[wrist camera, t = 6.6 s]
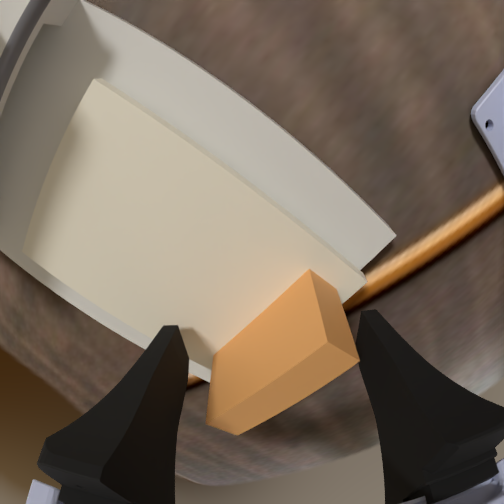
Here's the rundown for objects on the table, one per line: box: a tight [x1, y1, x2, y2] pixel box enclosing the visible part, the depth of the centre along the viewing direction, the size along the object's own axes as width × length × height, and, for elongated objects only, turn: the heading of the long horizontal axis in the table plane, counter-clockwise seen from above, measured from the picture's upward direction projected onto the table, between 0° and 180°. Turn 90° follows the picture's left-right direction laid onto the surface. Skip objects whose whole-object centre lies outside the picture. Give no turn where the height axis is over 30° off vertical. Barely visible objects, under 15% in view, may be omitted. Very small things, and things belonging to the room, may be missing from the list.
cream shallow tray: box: [22, 78, 367, 435], centre depth 10 cm, size 12×8×4 cm, turn 51°
